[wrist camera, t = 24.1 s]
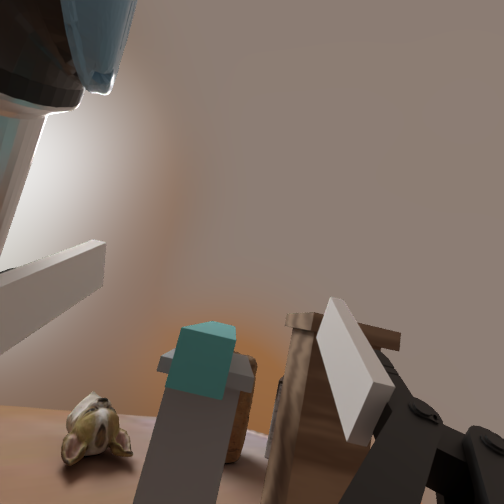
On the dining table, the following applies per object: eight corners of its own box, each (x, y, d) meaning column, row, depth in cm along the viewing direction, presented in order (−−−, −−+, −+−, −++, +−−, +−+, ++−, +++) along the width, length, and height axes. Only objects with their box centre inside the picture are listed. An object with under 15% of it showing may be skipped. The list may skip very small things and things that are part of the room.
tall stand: (368, 690, 23) (400, 332, 30) (254, 664, 23) (313, 312, 30) (314, 540, 39) (344, 327, 46) (246, 524, 39) (287, 313, 46)
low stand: (197, 651, 23) (254, 377, 28) (81, 625, 23) (160, 355, 28) (212, 516, 39) (247, 356, 44) (143, 500, 38) (187, 342, 44)
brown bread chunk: (235, 449, 60) (255, 355, 65) (241, 468, 53) (263, 361, 57) (187, 441, 58) (211, 345, 63) (185, 460, 51) (213, 350, 56)
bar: (222, 400, 18) (236, 340, 19) (164, 387, 18) (181, 327, 19) (229, 350, 46) (235, 326, 47) (206, 345, 46) (212, 321, 47)
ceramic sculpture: (122, 383, 58) (148, 417, 47) (108, 426, 56) (130, 473, 45) (65, 382, 51) (79, 422, 40) (47, 431, 50) (56, 487, 38)
